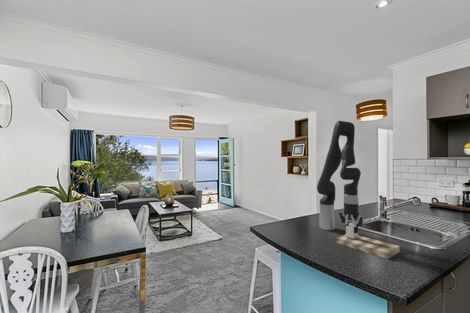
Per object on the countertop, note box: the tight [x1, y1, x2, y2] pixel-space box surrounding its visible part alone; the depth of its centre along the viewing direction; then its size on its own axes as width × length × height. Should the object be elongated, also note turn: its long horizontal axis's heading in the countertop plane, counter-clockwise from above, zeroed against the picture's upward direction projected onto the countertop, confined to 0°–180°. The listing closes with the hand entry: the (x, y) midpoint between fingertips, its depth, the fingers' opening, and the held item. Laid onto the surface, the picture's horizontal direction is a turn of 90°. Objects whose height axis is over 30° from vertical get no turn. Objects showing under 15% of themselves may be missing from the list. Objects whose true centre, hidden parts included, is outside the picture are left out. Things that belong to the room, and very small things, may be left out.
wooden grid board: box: [336, 233, 401, 260], centre depth 121 cm, size 26×14×3 cm, turn 34°
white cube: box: [344, 224, 359, 239], centre depth 127 cm, size 5×6×6 cm
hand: (351, 231), depth 127 cm, fingers closed on white cube, 4 cm apart
